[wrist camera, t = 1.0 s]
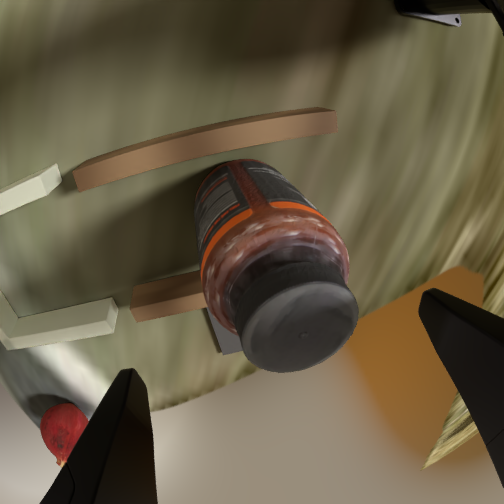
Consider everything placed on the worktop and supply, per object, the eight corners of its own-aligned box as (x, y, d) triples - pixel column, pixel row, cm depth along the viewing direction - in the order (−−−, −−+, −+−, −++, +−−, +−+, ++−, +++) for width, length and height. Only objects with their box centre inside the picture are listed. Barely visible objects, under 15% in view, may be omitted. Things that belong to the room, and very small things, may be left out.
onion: (45, 382, 24) (30, 447, 17) (96, 397, 26) (89, 465, 19) (49, 408, 26) (39, 466, 19) (94, 421, 28) (89, 480, 21)
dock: (56, 163, 15) (39, 175, 13) (118, 309, 21) (113, 332, 19) (-46, 215, 14) (-64, 230, 12) (16, 330, 20) (7, 350, 18)
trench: (317, 107, 17) (336, 110, 14) (328, 253, 22) (342, 272, 20) (86, 160, 15) (72, 171, 13) (140, 299, 21) (136, 322, 19)
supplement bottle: (187, 240, 19) (195, 391, 10) (203, 148, 17) (225, 239, 7) (275, 250, 21) (342, 385, 11) (299, 166, 18) (412, 263, 9)
